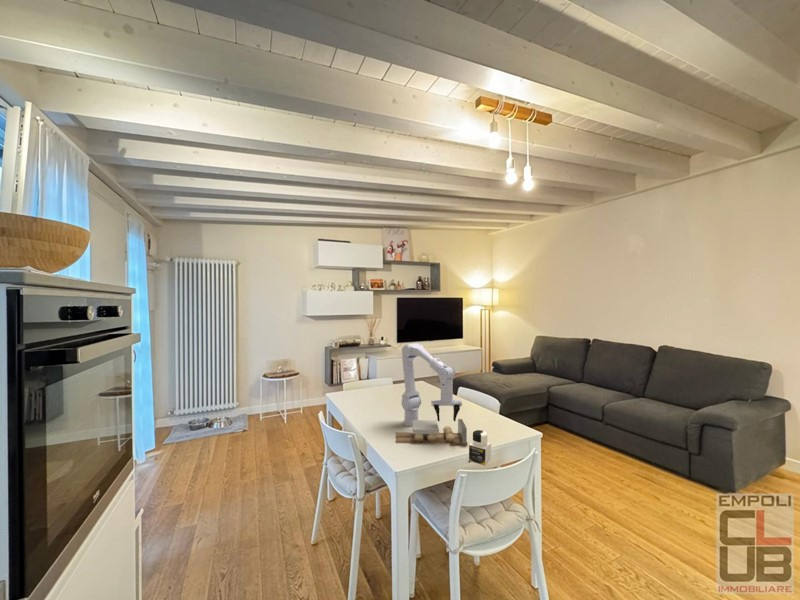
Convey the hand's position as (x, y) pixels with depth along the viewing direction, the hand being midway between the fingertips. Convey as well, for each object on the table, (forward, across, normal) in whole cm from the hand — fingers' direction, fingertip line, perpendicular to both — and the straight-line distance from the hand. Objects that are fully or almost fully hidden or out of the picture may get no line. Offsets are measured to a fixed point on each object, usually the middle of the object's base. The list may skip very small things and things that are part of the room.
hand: (446, 420), depth 162 cm
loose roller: (+8, +1, 0) cm, 8 cm away
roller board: (+9, -8, 0) cm, 12 cm away
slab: (+4, -10, 0) cm, 11 cm away
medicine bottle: (+10, +12, -20) cm, 25 cm away
